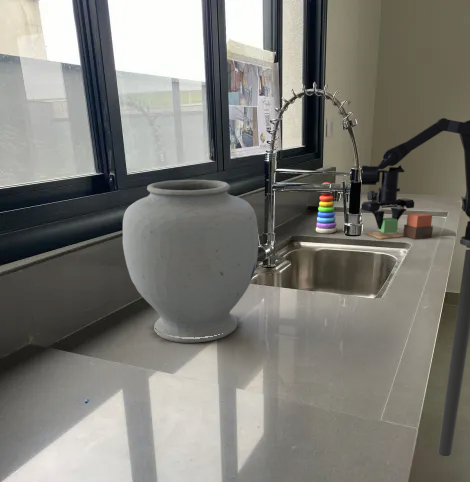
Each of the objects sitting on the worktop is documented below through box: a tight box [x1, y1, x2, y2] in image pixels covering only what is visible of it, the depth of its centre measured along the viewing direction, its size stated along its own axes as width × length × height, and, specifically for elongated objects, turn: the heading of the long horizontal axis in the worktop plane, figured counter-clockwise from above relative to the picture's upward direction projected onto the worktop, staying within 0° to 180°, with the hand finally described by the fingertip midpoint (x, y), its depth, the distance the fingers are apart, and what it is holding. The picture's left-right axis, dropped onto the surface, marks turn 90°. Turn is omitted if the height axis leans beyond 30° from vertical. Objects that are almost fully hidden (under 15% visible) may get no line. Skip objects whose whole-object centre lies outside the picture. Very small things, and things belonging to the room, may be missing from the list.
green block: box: [377, 217, 399, 233], centre depth 181 cm, size 5×5×4 cm
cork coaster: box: [366, 231, 406, 240], centre depth 184 cm, size 10×10×1 cm
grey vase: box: [122, 179, 259, 344], centre depth 101 cm, size 27×27×30 cm
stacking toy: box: [315, 182, 338, 235], centre depth 189 cm, size 8×8×19 cm
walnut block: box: [402, 223, 434, 240], centre depth 180 cm, size 7×7×4 cm
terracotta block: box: [406, 211, 433, 228], centre depth 178 cm, size 6×6×4 cm
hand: (386, 228), depth 183 cm, fingers closed on green block, 5 cm apart
